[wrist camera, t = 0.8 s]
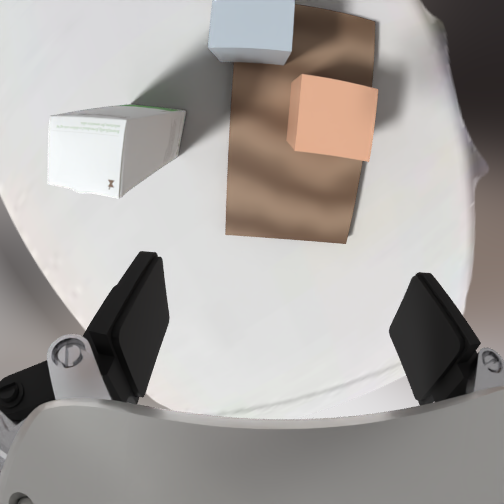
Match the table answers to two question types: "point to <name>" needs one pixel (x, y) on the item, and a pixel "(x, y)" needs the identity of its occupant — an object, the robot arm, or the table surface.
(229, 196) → the walnut board
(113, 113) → the skincare box
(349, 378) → the table surface
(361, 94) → the peach cube block
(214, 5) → the pale blue cube
